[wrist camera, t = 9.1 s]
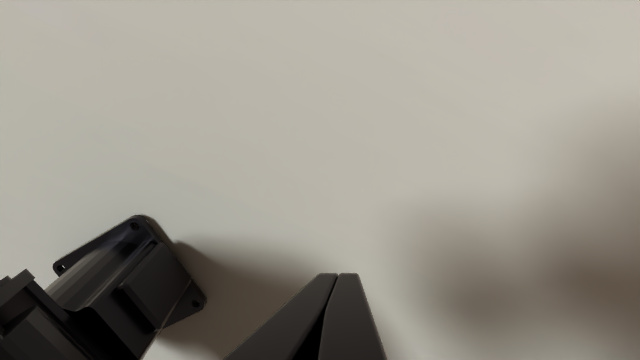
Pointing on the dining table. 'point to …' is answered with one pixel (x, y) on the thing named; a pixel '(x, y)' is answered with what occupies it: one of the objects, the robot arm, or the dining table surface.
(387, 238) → the dining table surface
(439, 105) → the dining table surface
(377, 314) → the dining table surface
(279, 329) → the robot arm
